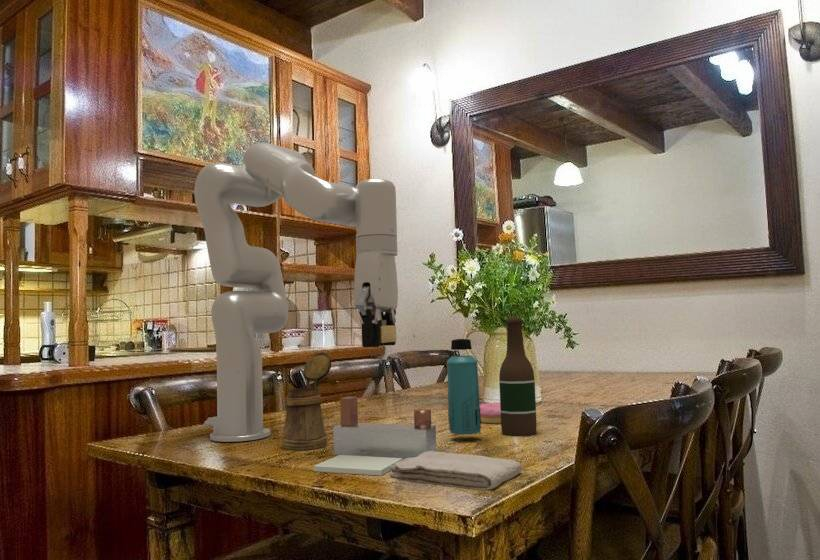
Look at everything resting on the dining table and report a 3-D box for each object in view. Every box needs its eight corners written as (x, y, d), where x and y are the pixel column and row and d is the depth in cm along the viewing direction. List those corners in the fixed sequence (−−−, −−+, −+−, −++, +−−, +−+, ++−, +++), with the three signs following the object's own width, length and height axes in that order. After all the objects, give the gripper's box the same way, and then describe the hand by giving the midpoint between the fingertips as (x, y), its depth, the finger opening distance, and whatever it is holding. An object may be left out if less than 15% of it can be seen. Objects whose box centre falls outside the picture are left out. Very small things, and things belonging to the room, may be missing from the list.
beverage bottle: (480, 442, 122) (476, 338, 123) (446, 442, 123) (442, 339, 125) (483, 436, 128) (479, 337, 130) (450, 436, 130) (447, 338, 131)
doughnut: (529, 423, 144) (529, 405, 144) (484, 426, 142) (483, 407, 142) (511, 416, 155) (510, 399, 155) (468, 419, 152) (468, 402, 152)
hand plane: (333, 454, 115) (332, 399, 115) (346, 449, 119) (345, 395, 120) (426, 459, 108) (425, 400, 109) (436, 453, 113) (434, 397, 113)
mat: (313, 471, 102) (313, 466, 102) (339, 459, 110) (339, 454, 110) (380, 475, 98) (380, 470, 98) (402, 463, 106) (402, 458, 106)
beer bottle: (543, 431, 132) (538, 316, 134) (529, 437, 126) (524, 317, 127) (509, 429, 136) (504, 317, 138) (494, 435, 130) (489, 318, 131)
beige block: (361, 343, 112) (361, 320, 112) (376, 341, 118) (376, 320, 118) (382, 342, 110) (381, 320, 111) (396, 341, 117) (395, 319, 117)
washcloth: (424, 465, 106) (423, 446, 106) (525, 475, 97) (524, 455, 97) (384, 481, 96) (384, 461, 96) (493, 495, 87) (492, 472, 87)
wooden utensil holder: (344, 438, 131) (342, 351, 132) (314, 451, 118) (312, 355, 120) (306, 437, 134) (304, 352, 135) (272, 449, 121) (271, 355, 122)
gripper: (377, 253, 125) (379, 344, 124) (336, 244, 109) (338, 348, 107) (412, 251, 122) (415, 343, 121) (376, 241, 106) (379, 348, 105)
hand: (379, 345), depth 114 cm, fingers closed on beige block, 6 cm apart
